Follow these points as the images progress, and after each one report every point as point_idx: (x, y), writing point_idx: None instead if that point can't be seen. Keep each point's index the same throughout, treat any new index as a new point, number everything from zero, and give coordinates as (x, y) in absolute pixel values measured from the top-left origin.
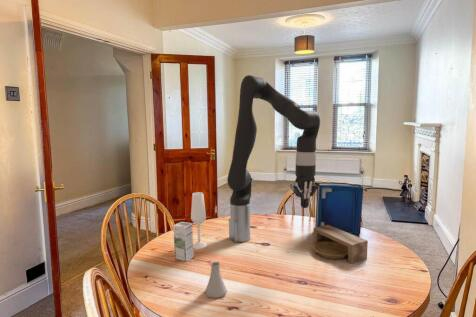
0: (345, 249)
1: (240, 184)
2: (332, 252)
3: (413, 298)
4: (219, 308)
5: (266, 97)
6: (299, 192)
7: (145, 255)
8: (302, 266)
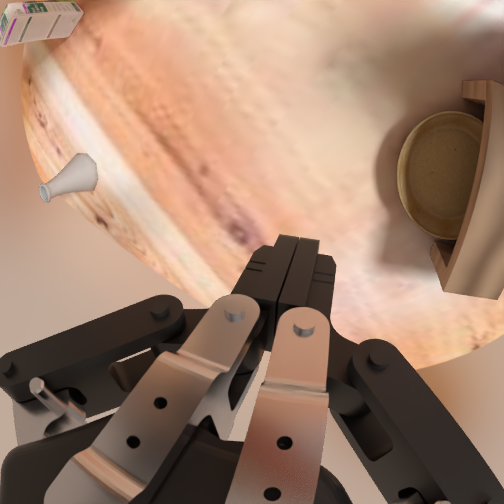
0: None
1: None
2: (457, 174)
3: None
4: (88, 212)
5: None
6: (128, 391)
7: None
8: (297, 174)
